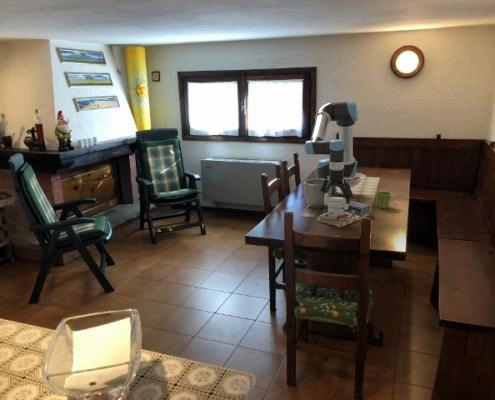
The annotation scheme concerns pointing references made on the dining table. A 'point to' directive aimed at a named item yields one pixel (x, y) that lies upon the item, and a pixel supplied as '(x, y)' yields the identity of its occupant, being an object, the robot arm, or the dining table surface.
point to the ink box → (336, 207)
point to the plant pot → (383, 199)
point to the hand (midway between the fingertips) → (336, 206)
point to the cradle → (349, 217)
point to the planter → (315, 192)
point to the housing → (359, 207)
